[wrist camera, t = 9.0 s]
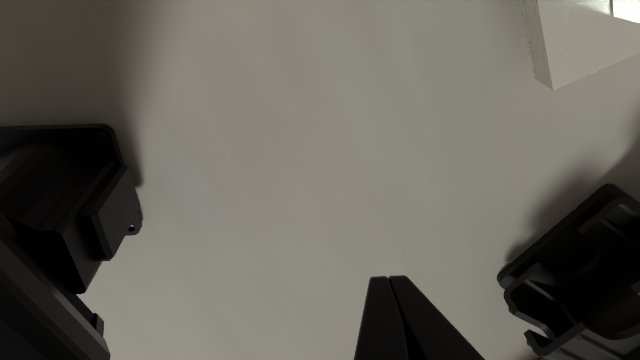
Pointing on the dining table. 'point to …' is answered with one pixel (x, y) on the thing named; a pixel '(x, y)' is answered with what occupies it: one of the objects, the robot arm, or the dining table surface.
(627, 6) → the brushed metal block
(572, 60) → the gray rectangular block
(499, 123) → the dining table surface
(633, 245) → the end cap
